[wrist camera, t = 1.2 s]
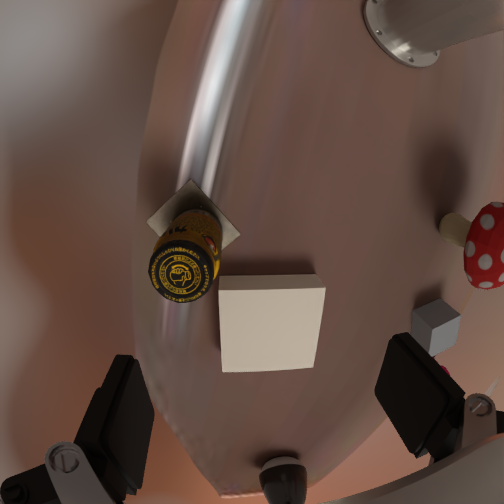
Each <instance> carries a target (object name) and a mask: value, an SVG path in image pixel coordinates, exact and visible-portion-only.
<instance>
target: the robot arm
mask: <svg viewBox="0 0 504 504" xmlns="http://www.w3.org/2000/svg"><path fill="white" fill-rule="evenodd" d="M363 13H364V20H365V23H366V26H367V28H368V30H369V32H370V34H371V35H372V37H373V38H374V40H375V41H376V42H377V43H378V45H379V46H380V47H381V48H382V49H383V50H384V51H385V52H386V53H387V54H388V55H390V56H391V57H392V58H394V59H395V60H397V61H399V62H400V63H402V64H405V65H407V66H410V67H415V68H423V67H427V66H430V65H432V64H434V63H435V62H436V61H437V59H438V57H439V54H440V50H441V49H444V48H446V47H449V46H452V45H455V44H458V43H461V42H464V41H467V40H470V39H473V38H477V37H480V36H484V35H487V34H491V33H494V32H498V31H502V30H504V0H367V1H366V3H365V5H364V12H363ZM464 395H465V392H464V391H463V390H462V389H461V388H460V386H459V385H458V384H457V383H456V382H455V381H454V380H453V379H452V378H451V377H450V375H449V374H448V373H447V372H446V371H445V370H444V369H443V368H442V367H441V366H440V365H439V364H438V363H437V362H436V361H435V360H434V359H433V357H432V356H431V355H430V354H429V353H428V352H427V351H426V350H425V349H424V348H423V347H422V346H421V345H420V344H419V343H418V342H417V341H416V340H415V339H414V338H413V337H412V336H411V335H410V334H409V333H408V332H405V333H400V334H395V335H393V337H392V339H390V340H389V343H388V346H387V350H386V353H385V357H384V360H383V364H382V367H381V370H380V374H379V377H378V380H377V383H376V386H375V396H376V397H377V399H378V401H379V402H380V404H381V406H382V407H383V409H384V411H385V412H386V414H387V415H388V417H389V419H390V420H391V422H392V424H393V425H394V427H395V429H396V430H397V432H398V434H399V435H400V437H401V438H402V440H403V442H404V444H405V446H406V447H407V449H408V450H409V452H410V453H412V454H414V455H415V457H416V458H419V457H421V456H423V455H425V454H427V453H428V452H429V453H430V455H431V457H430V462H429V466H427V467H425V468H423V469H421V470H419V471H417V472H415V473H412V474H410V475H408V476H405V477H403V478H401V479H398V480H395V481H393V482H390V483H388V484H385V485H382V486H379V487H377V488H374V489H371V490H368V491H365V492H361V493H358V494H355V495H352V496H348V497H345V498H341V499H337V500H333V501H329V502H325V503H320V504H504V412H502V411H497V410H496V408H495V404H494V402H493V401H492V400H491V399H490V398H489V397H488V396H486V395H484V394H480V393H479V394H477V393H475V394H471V395H470V396H468V397H467V399H466V400H465V399H464ZM153 421H154V408H153V405H152V403H151V400H150V397H149V394H148V391H147V387H146V384H145V381H144V378H143V375H142V371H141V368H140V364H139V361H138V360H137V359H134V358H133V356H131V355H116V356H115V358H114V360H113V363H112V364H111V367H110V369H109V371H108V373H107V375H106V378H105V380H104V382H103V384H102V386H101V388H98V389H96V391H95V393H94V395H93V397H92V400H91V402H90V404H89V407H88V409H87V411H86V414H85V416H84V418H83V421H82V423H81V425H80V428H79V430H78V432H77V435H76V438H75V440H74V442H73V443H71V442H58V443H56V444H54V445H52V446H51V447H50V448H49V449H48V450H47V452H46V454H45V459H44V460H45V464H42V465H40V466H38V467H35V468H33V469H30V470H28V471H25V472H23V473H20V474H17V475H14V476H12V477H9V478H7V479H6V480H5V481H4V482H3V483H2V485H1V488H0V495H1V496H0V504H125V502H124V500H125V498H126V494H130V495H136V492H137V489H141V487H142V483H143V477H144V470H145V464H146V459H147V453H148V447H149V442H150V436H151V431H152V426H153Z"/></svg>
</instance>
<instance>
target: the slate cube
mask: <svg viewBox="0 0 504 504" xmlns="http://www.w3.org/2000/svg"><path fill="white" fill-rule="evenodd" d="M460 318H461V315H460V314H459V313H458V312H457V311H456V310H454V309H453V308H452V307H451V306H449V305H448V304H447V303H446V302H445V301H443V300H442V299H441V298H440V299H437V300H435V301H433V302H431V303H428V304H426V305H424V306H421V307H419V308H416V309H414V310H413V313H412V327H411V336H412V337H413V338H414V339H415V340H416V341H417V342H418V343H419V344H420V345H421V346H422V347H423V348H424V349H425V350H426V351H427V352H428V353H429V354H430V355H431V356H432V357H433V356H435V355H437V354H439V353H441V352H443V351H444V350H446V349H448V348H450V347H452V346H454V345H455V343H456V339H457V335H458V330H459V324H460Z"/></svg>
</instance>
